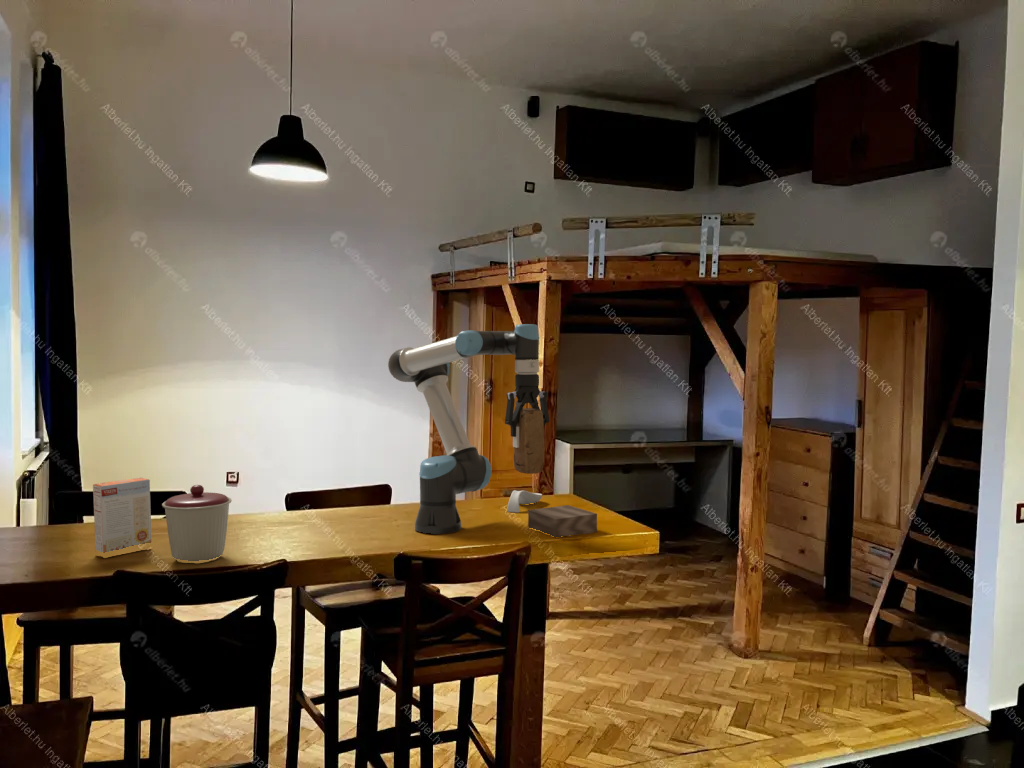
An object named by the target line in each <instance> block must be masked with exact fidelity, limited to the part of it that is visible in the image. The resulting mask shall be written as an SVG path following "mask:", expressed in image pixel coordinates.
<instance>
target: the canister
mask: <svg viewBox="0 0 1024 768" xmlns="http://www.w3.org/2000/svg"><path fill="white" fill-rule="evenodd" d="M204 488H205V487H203V485H201V484H193V485H191V487H190V493H183V494H179V495H174V496H171V497H169V498H167V500H165V501H164V502H163V503H161V506H162V508H163V509H164V511H165V520H166V521H165V522H166V526H167V536H168V541H169V547H170V548H169V549H170V553H171V557H172V558H173V557H174V558H176V559H180V560H188V561H199V560H209V559H213V558H216V557H219V556H220V555H223V554H224V551H225V547H226V539H227V531H228V530H227V529H228V520H229V510H230V509H229V507H230V504H231V502H232V498H231V497H228V496H227V495H225V494H223V493H217V492H207V491H206V492H205V491H204V490H205V489H204ZM174 558H173V559H174Z"/></svg>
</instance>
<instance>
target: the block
mask: <svg viewBox="0 0 1024 768" xmlns="http://www.w3.org/2000/svg"><path fill="white" fill-rule="evenodd" d="M517 426H518V427H519V448H516V447H513V450H514V452H513V466H514V469H515V470H516V472H519V473H522V474H530V475H531V474H532V475H533V474H534V475H535V474H539V473H541V472H543V466H544V463H545V425H544V424H543V413H542V410H541V409H540V410H538V409H532V407H528V408H524V407H523V409H522V410H521V412H520V418H519V421H518V424H517Z"/></svg>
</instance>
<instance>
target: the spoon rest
mask: <svg viewBox="0 0 1024 768" xmlns="http://www.w3.org/2000/svg"><path fill="white" fill-rule="evenodd" d="M510 494H511V495H510V497H509V499H508V503H507V508H506V511H508V512H507V513H520V512H521V511H520V509H521V508H520V504H530V503H535V504H537V503H538V502H539V501H541V499H542V497H543V494H542V493H539V492H538V493H537V492H530V491H527V490H525V489H523V490H515V489H514V490H512V492H511V493H510ZM536 502H537V503H536Z"/></svg>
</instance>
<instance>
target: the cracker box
mask: <svg viewBox="0 0 1024 768" xmlns="http://www.w3.org/2000/svg"><path fill="white" fill-rule="evenodd" d="M150 481H151V480H150V479H148V478H143V477H136V478H129V479H121V480H112V481H107V482H100V483H94V484H92V494H93V518H94V520H93V521H94V543H95V544H94V545H95V547H94V548H95V551H96V550H98V551H100V552H103V553H105V552H109V551H113V550H119V549H123V548H126V547H129V546H134V545H139V544H145V543H151V542H152V518H151V517H152V515H151V512H152V511H151V510H152V509H151V507H152V506H151V487H150V486H151V484H150Z"/></svg>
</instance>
